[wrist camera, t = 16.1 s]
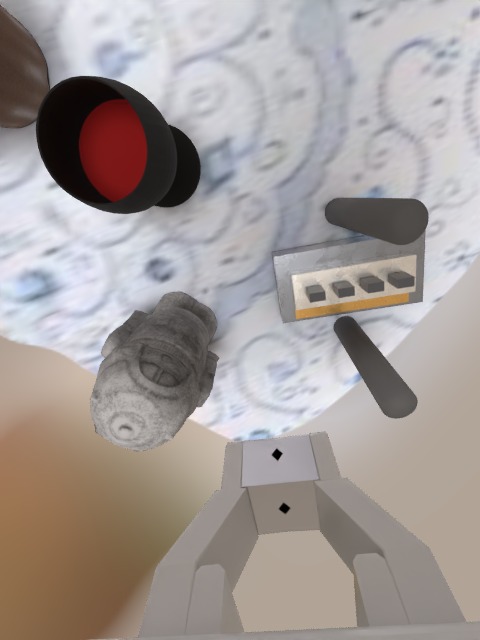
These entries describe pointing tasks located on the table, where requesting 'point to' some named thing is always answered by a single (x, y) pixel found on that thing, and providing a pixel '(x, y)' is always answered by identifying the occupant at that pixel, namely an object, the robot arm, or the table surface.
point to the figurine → (154, 373)
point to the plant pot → (20, 74)
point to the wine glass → (114, 147)
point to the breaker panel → (337, 257)
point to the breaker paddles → (366, 284)
